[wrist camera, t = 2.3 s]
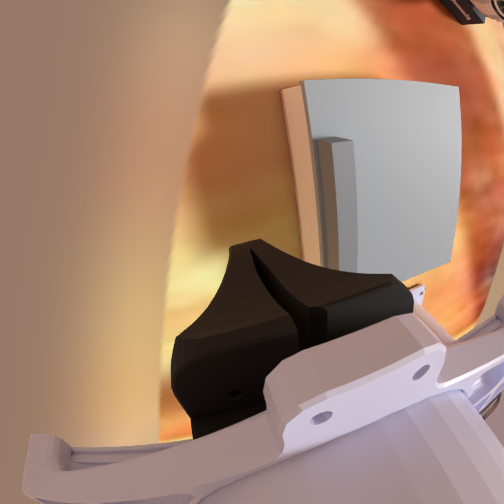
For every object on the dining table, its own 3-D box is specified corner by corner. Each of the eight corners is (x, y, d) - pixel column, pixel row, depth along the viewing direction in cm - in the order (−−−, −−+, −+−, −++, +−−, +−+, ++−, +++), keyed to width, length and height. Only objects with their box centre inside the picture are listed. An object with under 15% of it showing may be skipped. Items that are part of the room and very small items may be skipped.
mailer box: (416, 237, 25) (443, 255, 21) (303, 271, 24) (323, 299, 20) (415, 87, 18) (449, 88, 15) (279, 90, 17) (302, 85, 13)
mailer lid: (446, 258, 21) (463, 271, 19) (322, 304, 20) (336, 324, 18) (453, 86, 14) (476, 88, 12) (300, 81, 13) (318, 77, 11)
